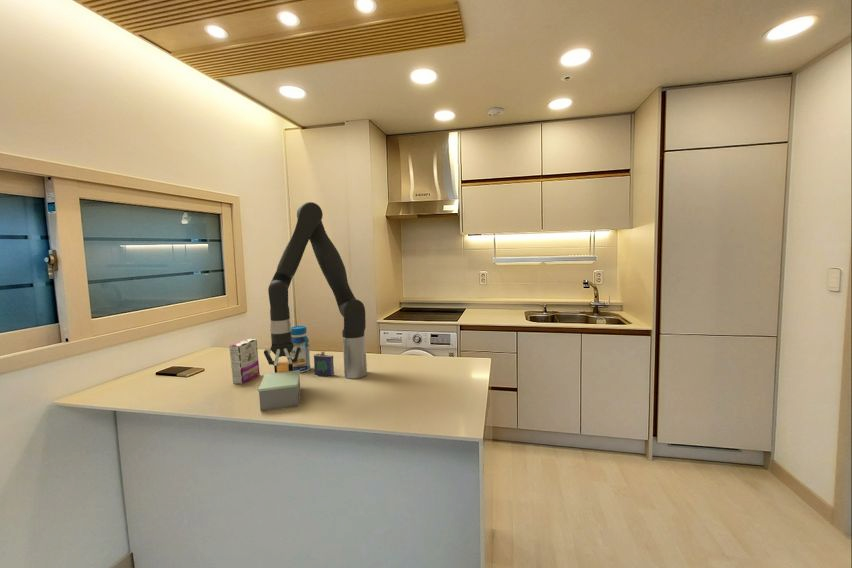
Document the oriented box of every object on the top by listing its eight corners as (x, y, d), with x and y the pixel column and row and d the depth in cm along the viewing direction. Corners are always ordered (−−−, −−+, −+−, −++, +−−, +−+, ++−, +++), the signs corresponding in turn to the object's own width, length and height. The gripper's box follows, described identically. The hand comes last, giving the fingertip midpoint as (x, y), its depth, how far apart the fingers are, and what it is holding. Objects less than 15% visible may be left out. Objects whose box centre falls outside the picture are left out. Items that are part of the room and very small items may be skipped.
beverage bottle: (314, 368, 165) (312, 325, 163) (299, 374, 158) (296, 329, 156) (302, 366, 169) (299, 324, 167) (287, 371, 162) (284, 328, 160)
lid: (301, 368, 146) (300, 359, 146) (297, 389, 124) (296, 378, 124) (268, 372, 142) (267, 362, 142) (258, 394, 120) (257, 382, 120)
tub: (300, 389, 140) (299, 372, 139) (298, 406, 124) (296, 386, 124) (267, 394, 136) (265, 376, 136) (260, 411, 121) (258, 391, 120)
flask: (335, 374, 156) (333, 350, 155) (331, 377, 153) (330, 352, 152) (316, 373, 158) (315, 349, 157) (312, 375, 155) (311, 351, 154)
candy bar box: (250, 374, 159) (247, 338, 158) (260, 375, 158) (257, 338, 157) (231, 383, 149) (228, 345, 147) (242, 384, 148) (239, 345, 146)
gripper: (300, 327, 146) (303, 368, 147) (262, 330, 142) (266, 372, 143) (299, 331, 139) (302, 374, 140) (259, 334, 135) (263, 378, 136)
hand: (284, 373), depth 142 cm, fingers closed on lid, 4 cm apart
